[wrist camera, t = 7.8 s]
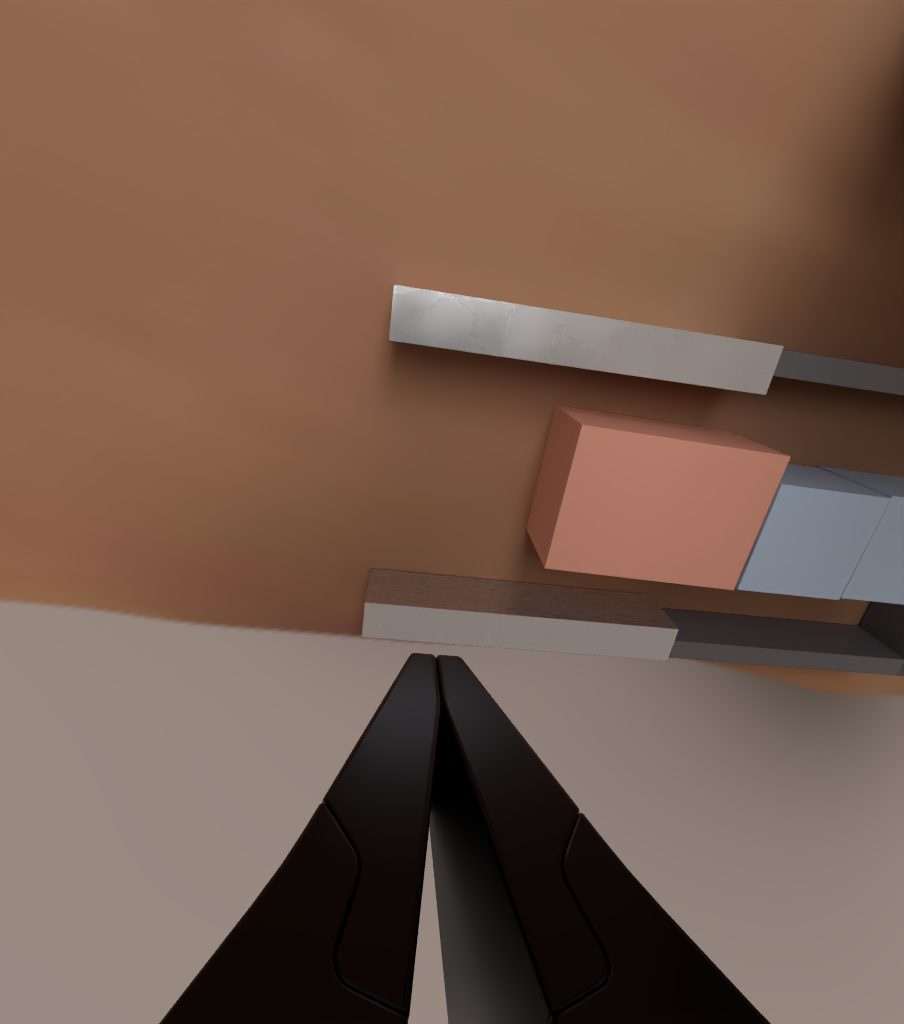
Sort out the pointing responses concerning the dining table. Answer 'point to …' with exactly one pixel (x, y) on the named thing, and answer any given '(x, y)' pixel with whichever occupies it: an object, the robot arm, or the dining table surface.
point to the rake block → (650, 498)
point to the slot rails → (535, 607)
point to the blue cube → (812, 535)
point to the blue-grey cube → (879, 543)
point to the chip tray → (794, 643)
